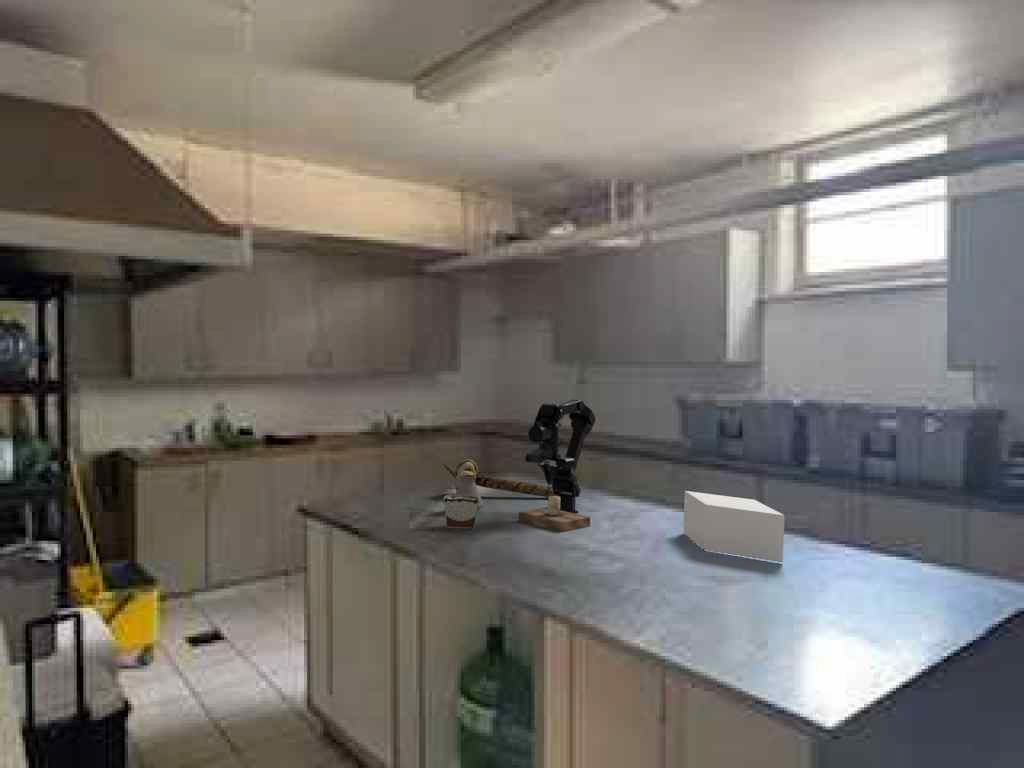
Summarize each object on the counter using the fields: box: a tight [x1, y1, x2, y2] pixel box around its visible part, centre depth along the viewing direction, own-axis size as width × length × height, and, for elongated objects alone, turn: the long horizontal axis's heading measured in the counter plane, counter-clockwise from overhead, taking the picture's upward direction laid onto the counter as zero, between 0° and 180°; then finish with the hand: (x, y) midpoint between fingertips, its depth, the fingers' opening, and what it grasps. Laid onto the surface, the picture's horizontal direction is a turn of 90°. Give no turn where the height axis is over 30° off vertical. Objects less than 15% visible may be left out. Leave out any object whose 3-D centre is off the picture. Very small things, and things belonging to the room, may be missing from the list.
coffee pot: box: [441, 464, 484, 511], centre depth 274 cm, size 21×12×15 cm, turn 38°
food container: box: [441, 493, 480, 529], centre depth 247 cm, size 12×6×10 cm, turn 84°
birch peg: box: [547, 496, 560, 517], centre depth 254 cm, size 4×4×9 cm
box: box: [682, 490, 786, 563], centre depth 227 cm, size 20×40×14 cm, turn 30°
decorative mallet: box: [453, 459, 558, 498], centre depth 301 cm, size 15×42×16 cm, turn 98°
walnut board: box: [517, 506, 591, 533], centre depth 254 cm, size 14×20×3 cm
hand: (549, 484), depth 262 cm, fingers closed
